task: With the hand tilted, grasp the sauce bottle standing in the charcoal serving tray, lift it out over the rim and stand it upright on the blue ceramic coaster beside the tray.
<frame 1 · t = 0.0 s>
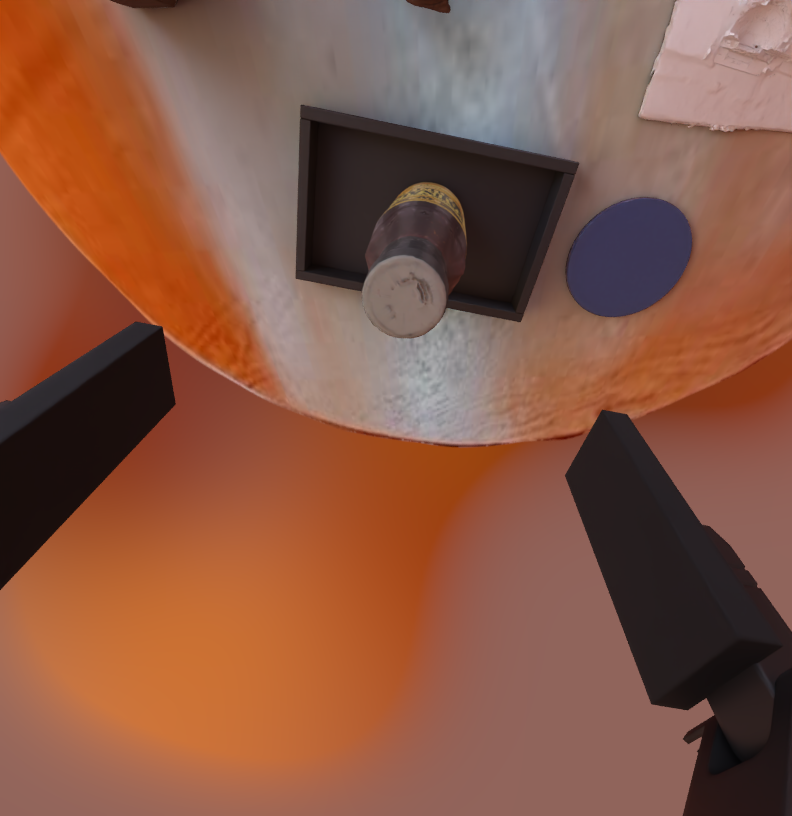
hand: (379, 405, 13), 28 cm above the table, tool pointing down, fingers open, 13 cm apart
sauce bottle: (424, 220, 35), resting on tray
tray: (424, 220, 35), on the table
coaster: (625, 260, 36), on the table
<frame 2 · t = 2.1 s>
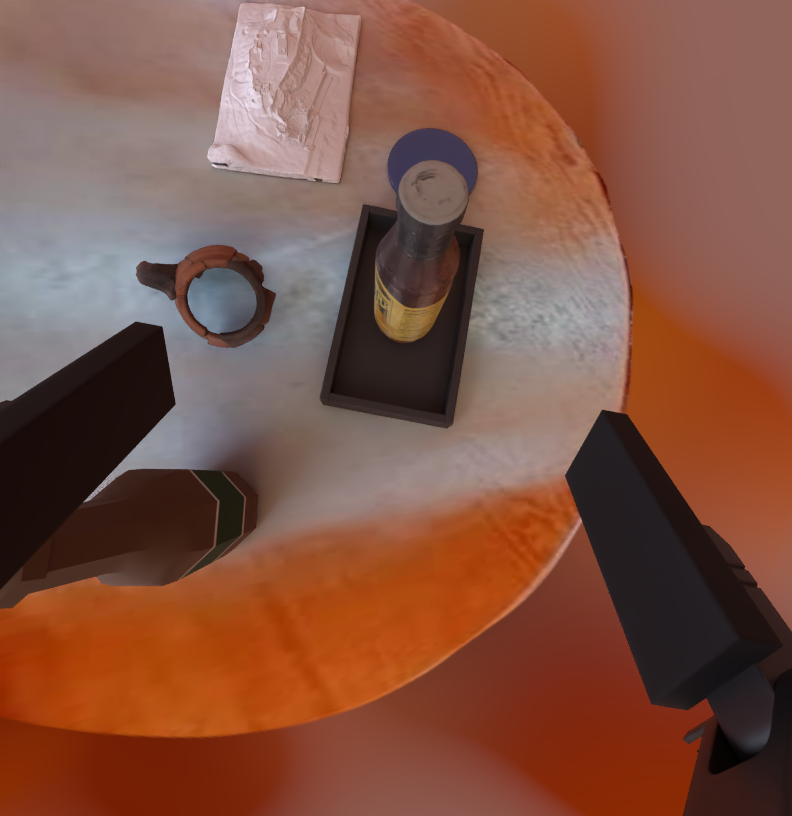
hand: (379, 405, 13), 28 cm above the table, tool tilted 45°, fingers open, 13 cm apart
brown broken pot: (222, 303, 42), on the table
sauce bottle: (403, 320, 42), resting on tray
terrain model: (290, 95, 46), on the table
tray: (403, 320, 42), on the table
coaster: (432, 171, 46), on the table
beer bottle: (220, 510, 38), on the table
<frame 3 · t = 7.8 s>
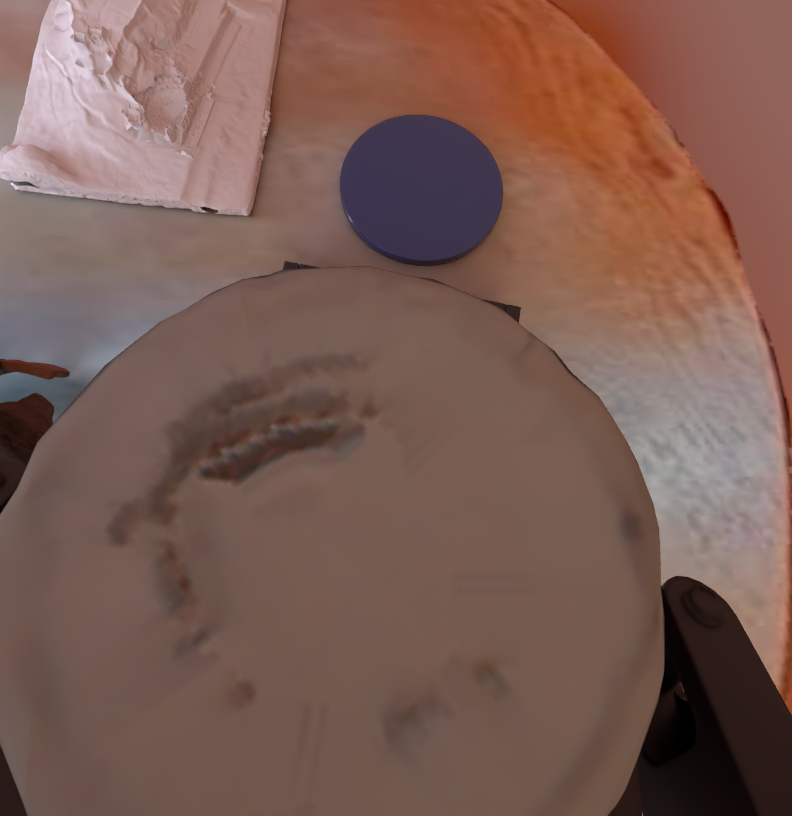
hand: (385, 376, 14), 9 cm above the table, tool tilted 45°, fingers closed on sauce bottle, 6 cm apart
brown broken pot: (12, 456, 21), on the table
sauce bottle: (367, 480, 22), resting on tray, touching gripper
terrain model: (168, 57, 26), on the table
tray: (367, 480, 22), on the table
coaster: (421, 191, 25), on the table
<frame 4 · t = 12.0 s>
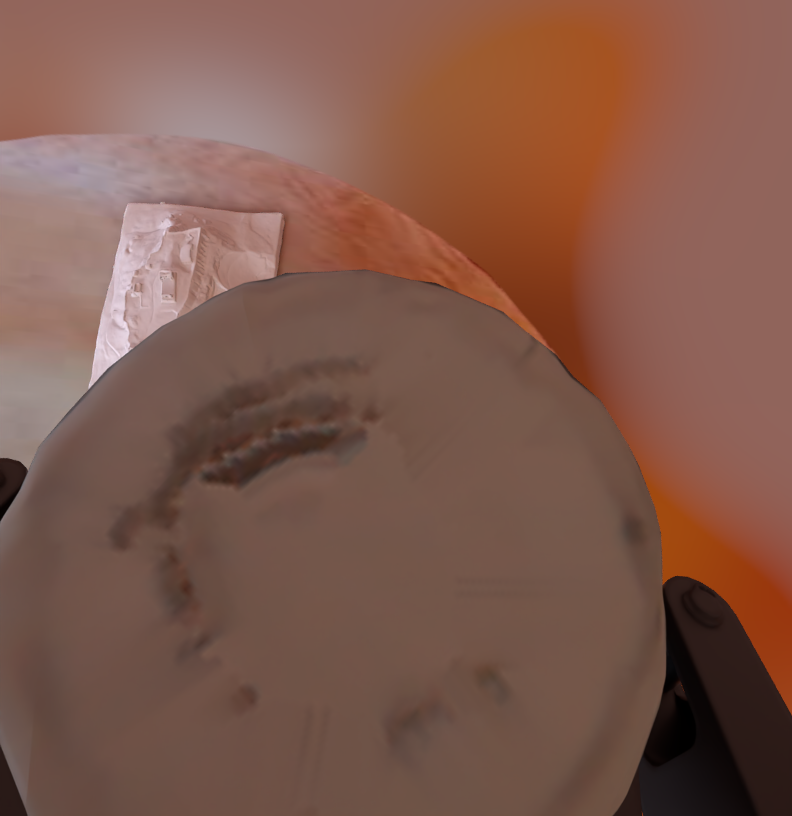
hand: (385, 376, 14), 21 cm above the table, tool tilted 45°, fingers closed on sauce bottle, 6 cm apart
sauce bottle: (367, 481, 22), point 13 cm above the table, touching gripper
terrain model: (191, 325, 36), on the table
when the fingers open (9 cm above the table, at t = 16.2 s): sauce bottle stays where it is, resting on coaster.
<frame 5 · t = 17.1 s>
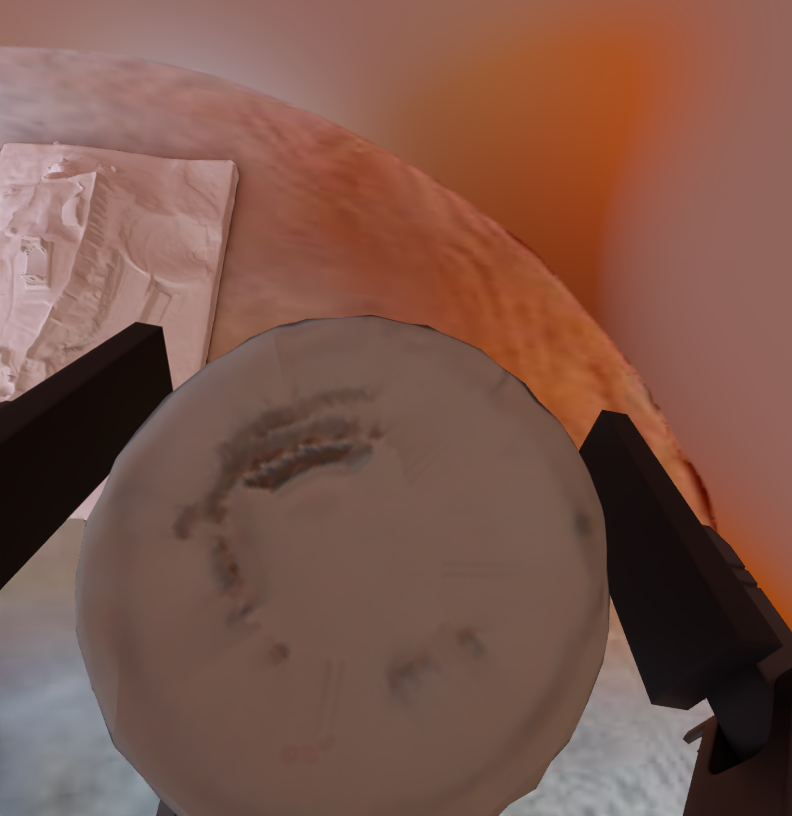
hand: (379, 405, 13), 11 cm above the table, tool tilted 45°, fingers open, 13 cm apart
sauce bottle: (368, 482, 23), resting on coaster
terrain model: (93, 325, 24), on the table
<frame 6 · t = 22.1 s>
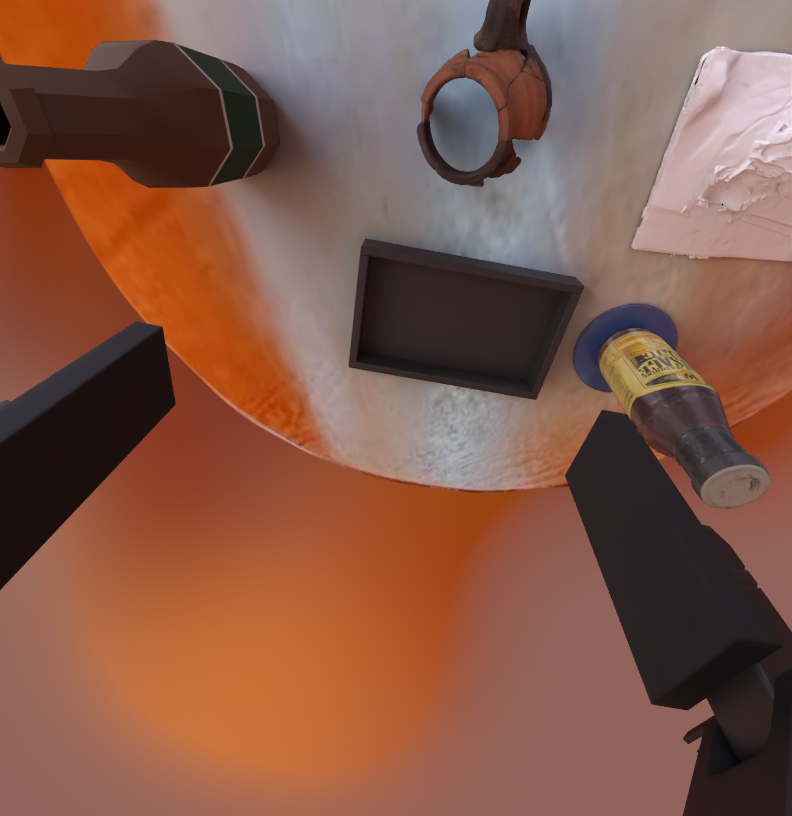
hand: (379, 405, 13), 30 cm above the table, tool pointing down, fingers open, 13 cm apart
brown broken pot: (487, 96, 32), on the table
sauce bottle: (623, 351, 43), resting on coaster
terrain model: (791, 171, 34), on the table
tray: (455, 319, 43), on the table
coaster: (622, 349, 43), on the table
beer bottle: (238, 124, 34), on the table
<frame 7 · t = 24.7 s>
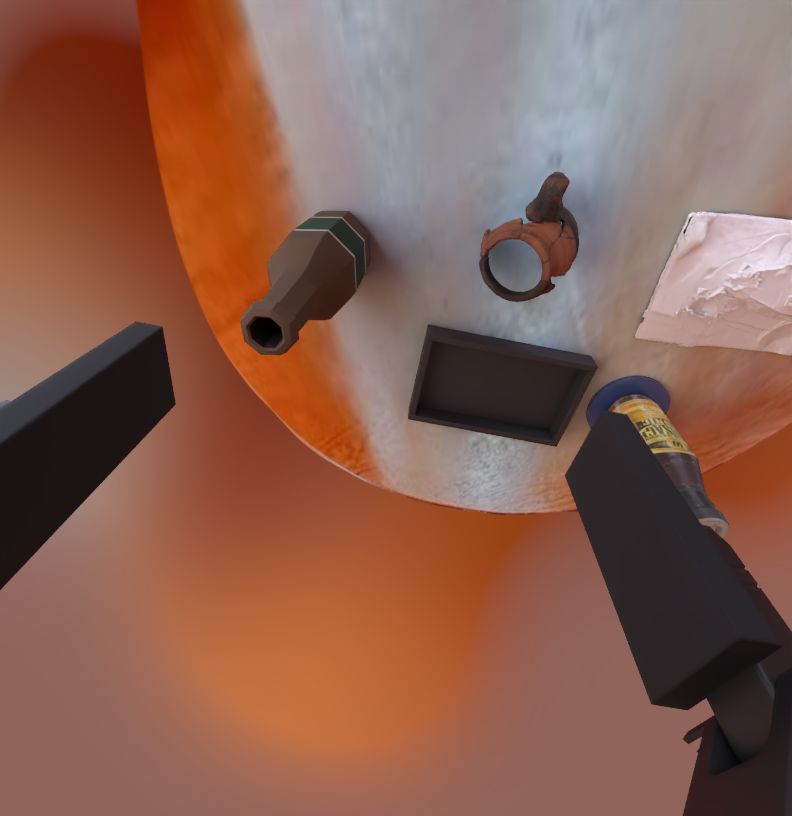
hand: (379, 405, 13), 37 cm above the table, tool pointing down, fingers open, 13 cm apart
brown broken pot: (529, 233, 43), on the table
sauce bottle: (626, 410, 54), resting on coaster
terrain model: (756, 288, 45), on the table
tray: (494, 383, 54), on the table
coaster: (626, 408, 54), on the table
beer bottle: (339, 244, 45), on the table
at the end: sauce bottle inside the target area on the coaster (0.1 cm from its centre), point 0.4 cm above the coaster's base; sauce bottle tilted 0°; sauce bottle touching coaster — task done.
